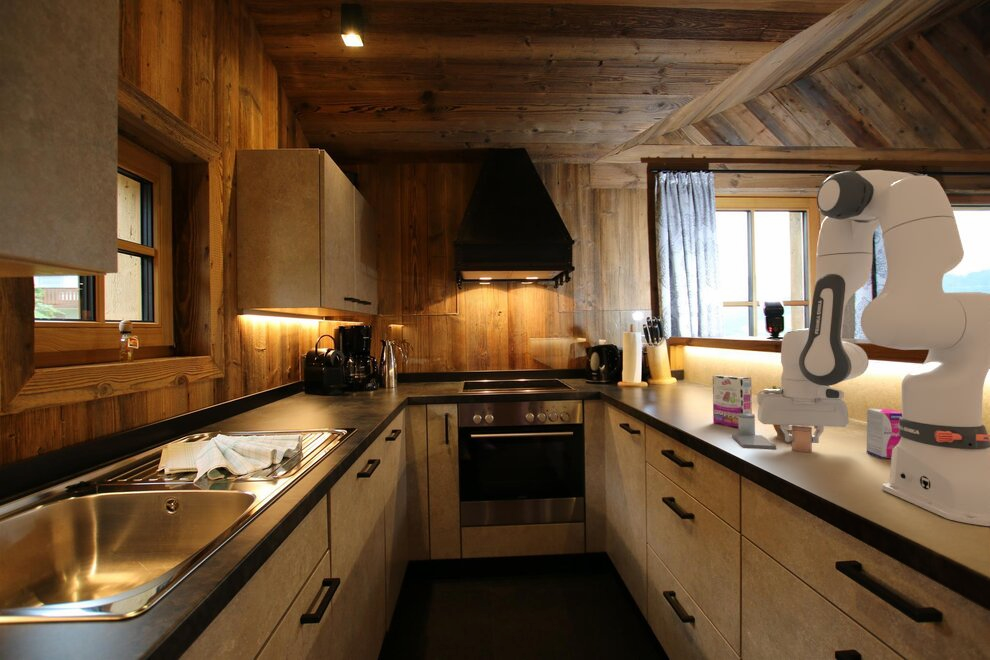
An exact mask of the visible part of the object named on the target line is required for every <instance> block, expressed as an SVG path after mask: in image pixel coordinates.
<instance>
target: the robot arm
mask: <svg viewBox="0 0 990 660" xmlns="http://www.w3.org/2000/svg"><path fill="white" fill-rule="evenodd" d="M816 205H817V208H818V211H819V212H820V214H821V215H823V216H824V217H825V218H824V219H823V221H822V222H821V225H820V228H819V229H820V230H819V234H818V238H817V245H816V255H815V256H816V258H815V259H816V260H815V281H814V282H815V283H814V291H813V296H812V304H811V310H810V311H811V312H810V319H809V320H810V322H809V328H801V329H793V330H790V331H787V332H786V333H785V334H784V335H783V337H782V341H781V347H780V348H781V350H780V351H781V352H780V362H781V366H782V373H781V379H780V381H781V382H780V384H781V387H780V388H781V389H778V388H777V389H768V388H765V389H762V390H761V391H759V392H758V393H757V403H758V408H757V420H758V421H759V422H760V423H761V424H763V425H780V428H781V429H782V431H783V432H784V434H785V441H787V442H793V441H794V440H793V438H794V436H793V435H791V434H789V433H788V431H787V430H786V429H789V426H792V425H801V426H809V427H813V428H814V429H815V431H814V432H813V433H812V444H819V443H820V439H819V438H820V436H821V435H822V434H823V432H824V430H825V427H833V428H834V427H835V428H845V427H847V425H848V424H849V421H850V420H849V410H848V406H847V405H848V404H847V403H846V402H845V401H844V400H843V399H844V397H845V392H844V391H843V390H841V389H837V388H835V387H832V386H834V385H837V384H839V383H841V382H845V381H849V380H853V379H855V378H857V377H860V376H862V375H863V374H864V373H865V372H866V370H867V369H868V367H869V356H868V354H867V352H866V351H865V350H864V348H862V347H861V346H860V345H858V344H856V343H852V342H848V341H846V340H843V330H844V329H843V328H844V322H845V321H844V318H845V311H846V310H845V309H846V306H847V304H848V302H849V300H850V299H851V297H852V296H853V295H854V294H855V293H856V292H857V291H859V290H860V289H862V288H863V287H864V286H865V285H866V284H867V282H869V279H870V275H871V272H872V268H873V258H874V257H873V256H874V254H873V252H874V251H873V249H874V248H873V246H874V245H873V243H874V242H873V240H874V233H875V231H876V230H877V229H878V228H879V227H880V231H881V238H882V242H883V248H884V253H885V259H886V272H887V274H886V279H885V282H884V285H883V287H882V289H881V291H880V293H879V294H877V296H876V297H875V298H873V299H872V300H871V301H870V302H868V304H867V305H866V306H865V307H864V309H863V311H862V313H861V316H860V327H861V330H862V333H863V334H864V336H865V338H866V339H867V340H868V341H869V342H870V343H872V344H873V345H876V346H879V347H884V348H889V349H894V350H895V349H896V350H902V351H903V350H904V351H908V350H910V351H911V350H914V351H915V350H922V351H923V350H926V351H927V350H928V353H927V356H926V359H925V360H924V362H923V363H922V364H921V365H920V366H919V367H918V368H917V369H915V370H913V371H911V372H909V373H908V374H906V375H905V376H904V378H903V379H902V382H901V412H902V417H900V418H899V424H898V428H899V435H900V436H901V439H900V441H899V443H898V444H897V445H896V446H895V447H894V448H893V450H892V457H891V459H890V469H889V481H888V482H885V483H883V484H882V486H881V487H882V488H881V489H882V491H885V492H887V493H889V494H891V495H894V496H896V497H898V498H900V499H902V500H905V501H906V502H909V503H912V504H913V505H915V506H918V507H920V508H922V509H925V510H926V511H929V512H931V513H932V514H936V515H938V516H941V517H943V518H945V519H947V520H951V521H955V522H959V523H964V524H969V525H970V524H971V525H972V524H973V525H976V526H984V527H985V526H986V527H990V434H989V433H988V432H987V428H986V426H985V425H984V424H983V392H984V385H985V381H986V378H987V375H988V373H989V370H990V293H988V292H981V291H974V292H973V291H971V292H969V291H968V292H967V291H965V292H962V291H961V292H945V290H944V289H943V278H944V276H945V274H947V273H949V272H951V271H953V269H955V268H956V267H958V266H959V265H960V263H961V262H962V261H963V258H964V255H965V252H964V248H963V244H962V240H961V237H960V232H959V227H958V224H957V220H956V217H955V214H954V210H953V208H952V205H951V203H950V200H949V197H948V196H947V193H946V192H945V191H944V188H943V187H942V186H941V183H940V182H939V181H938V180H937V179H936V178H934V177H931V176H928V175H925V174H921V173H918V172H914V171H913V172H912V171H905V172H902V171H893V170H883V169H870V170H868V169H867V170H857V171H854V170H845V171H840V172H836V173H834V174H831V175H830V176H828V177H827V178H826V179H825V180H824V181H823V182H822V183H821V185H820V186H819V189H818V191H817V194H816Z"/></svg>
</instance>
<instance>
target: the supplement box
mask: <svg viewBox="0 0 990 660" xmlns="http://www.w3.org/2000/svg"><path fill="white" fill-rule="evenodd" d="M900 417H902V411H899V410H895V409H893V408H867V409H866V453H867V452H868V453H867V454H869V453H870V454H869V455H871V454H873V455H872V456H874V455H875V456H874V457H876V456H878V457H877V458H879V457H880V458H879V459H882V458H891V457H892V450H893V448H894V447H895V446H896V445H897V444H898V443H899V441H900V439H901V436H900V435H899V428H898V424H899V418H900Z"/></svg>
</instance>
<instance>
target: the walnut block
mask: <svg viewBox="0 0 990 660" xmlns="http://www.w3.org/2000/svg"><path fill="white" fill-rule="evenodd" d="M786 430H787V431H788V433H789V434H791V435H792V425H789V429H786ZM776 439H777V440H778V441H781V442H784V443H787V444H791V445H792V442H787V441H785V434H784V432H783V431H782V429H781V428H780V426H777V432H776Z"/></svg>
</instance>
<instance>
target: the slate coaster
mask: <svg viewBox="0 0 990 660" xmlns="http://www.w3.org/2000/svg"><path fill="white" fill-rule="evenodd" d="M731 437H732V439H734V440H735V441H736V442H737V443H738V444H739V445H740V447H742V448H748V449H749V448H751V449H768V450H769V449H772V450H773V449H774V450H776V449H777V445H775V444H774V443H773V442H771V440H769V439H768V438H766V437H765V436H763V434H762V435H761V434H755V435H739V433H738V434H735V433H733V434H731Z"/></svg>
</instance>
